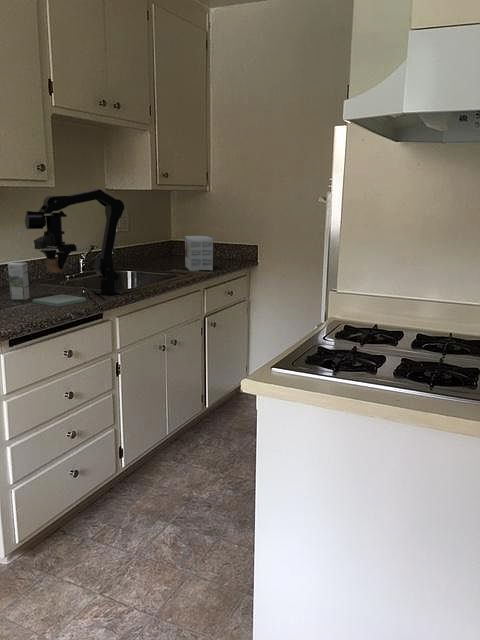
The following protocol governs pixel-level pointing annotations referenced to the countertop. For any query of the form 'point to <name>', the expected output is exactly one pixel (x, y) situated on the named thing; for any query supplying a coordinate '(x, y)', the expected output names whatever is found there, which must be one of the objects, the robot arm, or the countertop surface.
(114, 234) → the robot arm
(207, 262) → the supplement box
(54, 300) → the plate
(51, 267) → the walnut cube
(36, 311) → the countertop surface
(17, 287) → the syrup box
